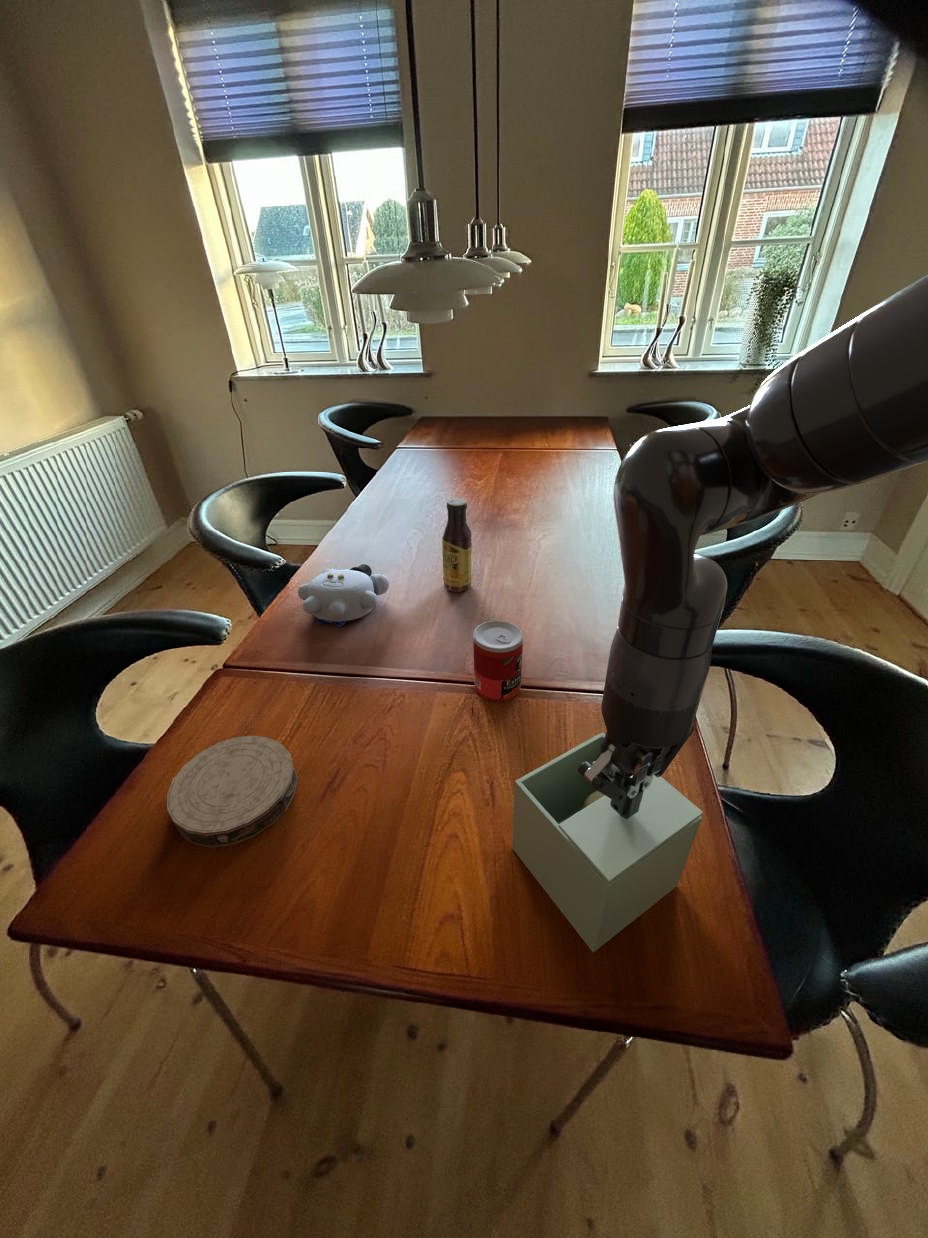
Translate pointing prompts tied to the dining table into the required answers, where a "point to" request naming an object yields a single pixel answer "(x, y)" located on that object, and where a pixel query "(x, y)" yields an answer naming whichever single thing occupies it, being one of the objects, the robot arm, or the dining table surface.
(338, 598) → the figurine
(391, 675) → the dining table surface
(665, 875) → the carton
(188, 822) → the grey flat disc
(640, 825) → the flap
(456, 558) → the sauce bottle
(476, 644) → the canned food
